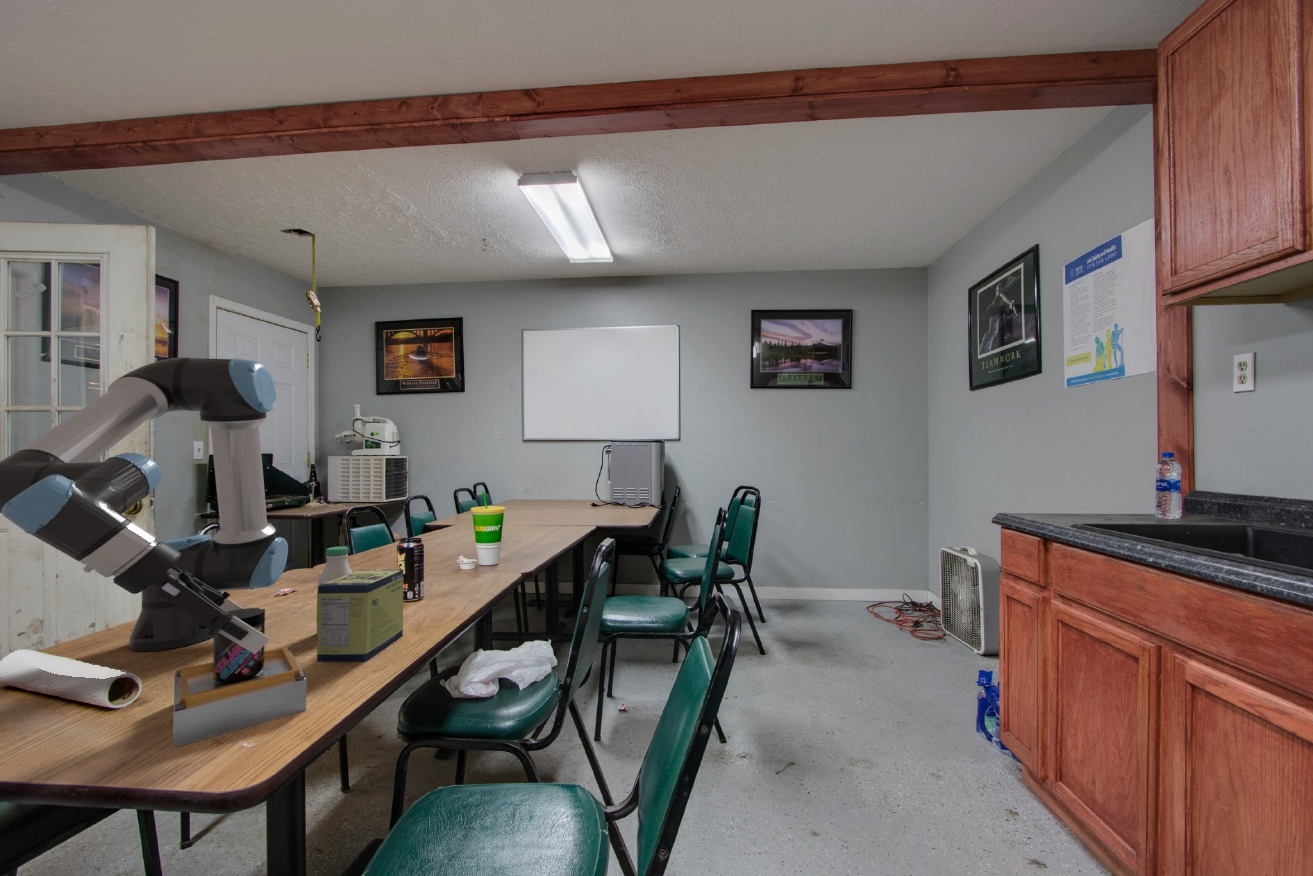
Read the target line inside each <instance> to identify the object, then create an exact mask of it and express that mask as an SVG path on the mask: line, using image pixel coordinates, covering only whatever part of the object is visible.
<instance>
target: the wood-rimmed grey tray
mask: <svg viewBox="0 0 1313 876" xmlns="http://www.w3.org/2000/svg"><path fill="white" fill-rule="evenodd" d="M307 683H308V680H307V677H306V673H304V671H302V669H301V666H300V665H299V663H298V662H297V660H296V658H295V656H294V655H293V653H292V651H291V647H288V646H285V647H284V646H283V647H279V648H276V649H270V650H269V649H268V650H264V669H263V671H262V673H261V674H260V675H258V676H257V677H255V678H252V679H250V680H247V681H244V682H240V683H235V684H218V683H216V682H215V681H214V680H213V661H212V662H208V663H202V664H198V665H193V666H188V667H187V666H186V667H183V668H180V669H178V670H176V671H175V674H174V684H173V685H174V688H173V689H174V691H173V724H172V725H173V726H172V748H177V747H181V746H184V745H187V744H191V743H194V742H198V741H202V740H205V739H210V738H212V737H216V736H220V735H223V734H226V733H230V732H234V731H237V730H241V729H245V728H248V727H252V726H256V725H259V724H262V723H266V722H269V720H270V721H273V720H276V719H280V718H283V717H287V716H290V715H294V714H297V713H301V711H302V712H305V711H307V693H308V691H307V689H308V686H307Z"/></svg>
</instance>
